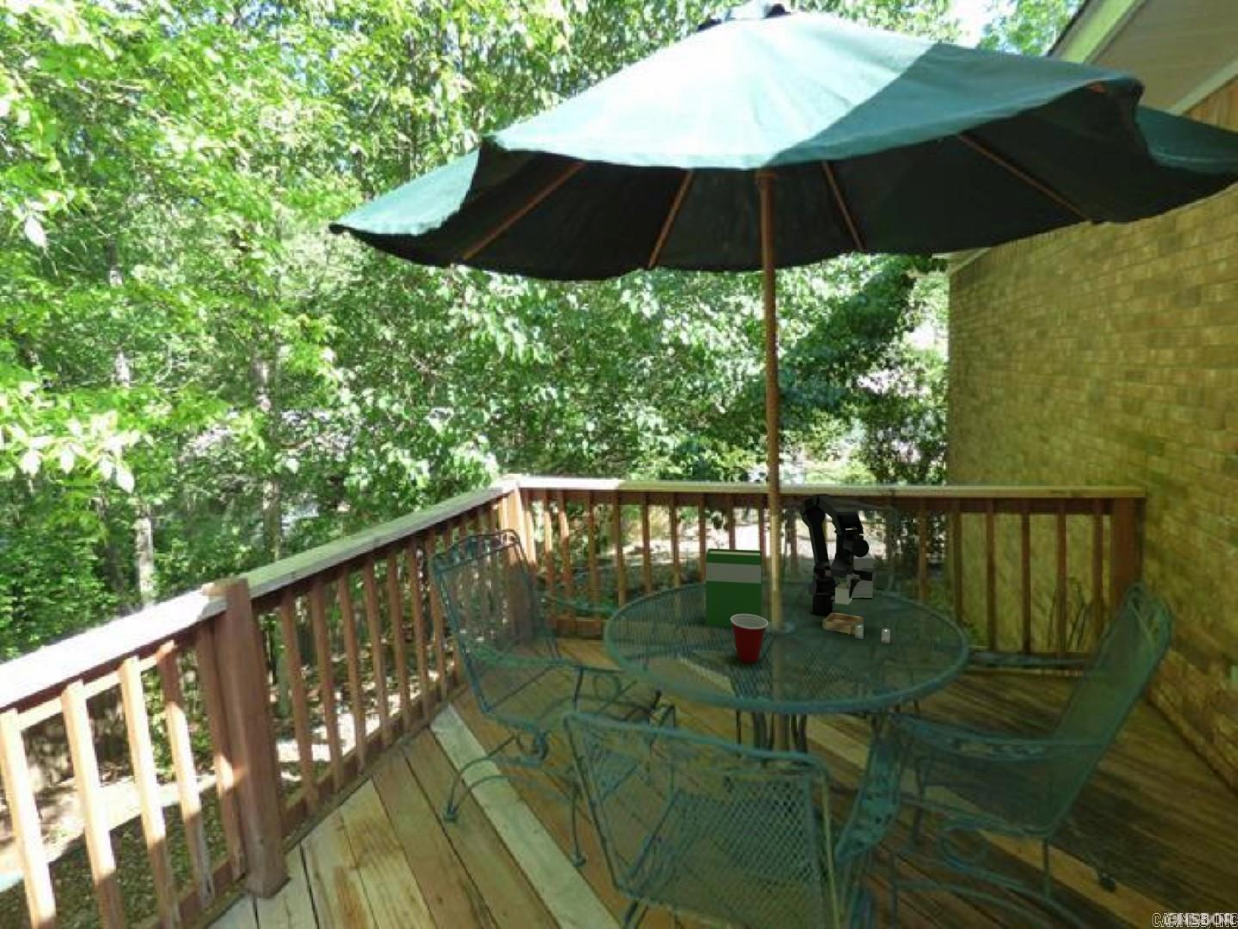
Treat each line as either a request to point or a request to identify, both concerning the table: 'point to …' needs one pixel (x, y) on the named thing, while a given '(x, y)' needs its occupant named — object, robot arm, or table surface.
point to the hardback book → (732, 584)
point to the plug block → (842, 593)
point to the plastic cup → (748, 636)
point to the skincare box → (863, 586)
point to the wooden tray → (842, 622)
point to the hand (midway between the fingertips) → (843, 597)
